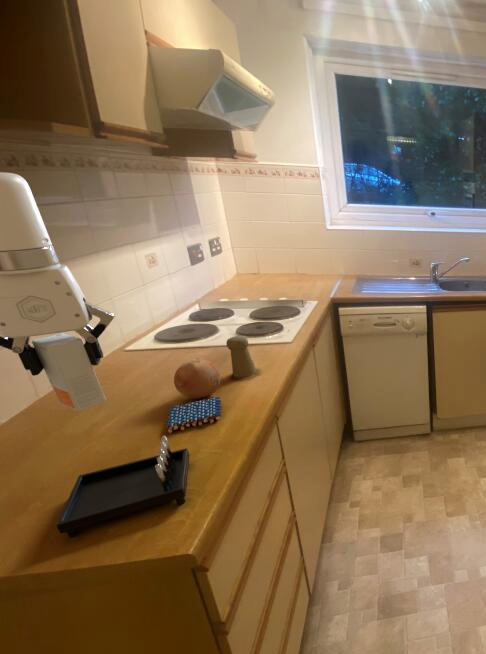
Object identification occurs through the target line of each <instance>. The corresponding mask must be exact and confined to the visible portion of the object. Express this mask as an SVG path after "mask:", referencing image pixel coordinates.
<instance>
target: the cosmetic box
mask: <svg viewBox="0 0 486 654" xmlns="http://www.w3.org/2000/svg"><path fill="white" fill-rule="evenodd" d="M82 339H83V338H80V337H76V336H74V335H71V334H66V333H64V332H61V333H57V334H55V335H53V334H52V335H50V336H45V337H41V338H37V339H33V340H31V343H32V346H33V348H35V350H36V353H37V355H38V357H39V359H40V361H41V364H42V366H43V368H44V369H43V371H44V373H45V375H46V377H47V379H48V381H49V384H50V386H51V388H52V390H53V392H54V394H55V397H56V399H57V402H58V404H59V405H61V406H64V407H66V408H68V409H71V410H73V411H75V412H77V413H80V412H83V411H85V410H88V409H91V408H93V407H96V406H98V405H99V406H100V405H103V404H105V403H106V402H107V398H106V396H105V393H104V391H103V388H102V386H101V384H100V381H99V378H98V375H97V374H96V371H95V368H94V365H92V364H91V362H90V360H89V357H88V355H87V352H86V350H85V347H84V344H85V343H84V342H83V340H82Z"/></svg>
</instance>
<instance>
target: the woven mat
mask: <svg viewBox="0 0 486 654" xmlns="http://www.w3.org/2000/svg"><path fill="white" fill-rule="evenodd" d="M220 398H221V397H220V396H216V397H213V398H212V397H210V398H208V399H202V400H199V401H197V400H196V401H195V402H189V403H185V404H180V405H175V406H171V407H170V408H169V410H168V413H167V414H168V415H167V421H166V422H167V423H166V427H165V429H166V430H167V429H168V433H170V434H171V433H172V432H173V430H178V429H180V430H181V431H184V430H185V426H186V427H187V428H190V427H191V425H192V427H196V426H197V423H198V425H199V426H202V425H203V423H204V424H205V423H208V422H209V423H210V424H213V423H214V422H215V421H214V419H215V420H216V421H219V420H220V417H222V408H221V407H222V405H221V404H222V399H220Z"/></svg>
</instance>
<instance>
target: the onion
mask: <svg viewBox="0 0 486 654" xmlns="http://www.w3.org/2000/svg"><path fill="white" fill-rule="evenodd" d="M220 382H221V375H220V372H219V369H218V368H217V366H216V365H214V364H213V363H212V362H210V361H208V360H206V359H203V358H193V359H192V358H191V359H189V360H187V361H185V362H184V363H183V364H181V365H180V366H179V367H178V368H177V369H176V371H175V373H174V376H173V384H174V387H175V389H176V390H177V392H178V393H180V394H181V395H182V396H184V397H187V398H190V399H195V400H196V399H203V398H206V397H208V396H209V395H211V394H213V393H215V391H216V390H217V389H218V388H219V386H220Z"/></svg>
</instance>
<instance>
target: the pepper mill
mask: <svg viewBox="0 0 486 654" xmlns="http://www.w3.org/2000/svg"><path fill="white" fill-rule="evenodd" d="M226 347H227V349H228V350H229V351H230V358H231V370H232V376H233V377H234V378H241V379H242V378H246V377H250V376H253V375H255V374H256V373H257V372H258V371H257V368H256V364H255V362H254V360H253V358H252V356H251V353H250V350H249V348H248V347H249V340H248V338H247V337H246V336H245V335H244V336H243V335H235V336H232V337H229V338H228V339H226Z"/></svg>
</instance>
